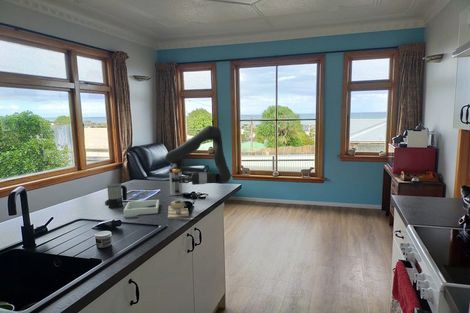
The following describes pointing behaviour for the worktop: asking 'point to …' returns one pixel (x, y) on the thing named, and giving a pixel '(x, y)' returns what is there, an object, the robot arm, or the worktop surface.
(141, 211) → the tray
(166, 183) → the worktop surface
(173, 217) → the pulley board
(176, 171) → the lock pin
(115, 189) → the milk frother
